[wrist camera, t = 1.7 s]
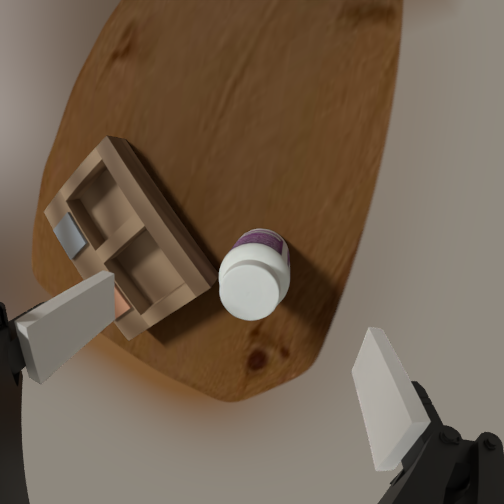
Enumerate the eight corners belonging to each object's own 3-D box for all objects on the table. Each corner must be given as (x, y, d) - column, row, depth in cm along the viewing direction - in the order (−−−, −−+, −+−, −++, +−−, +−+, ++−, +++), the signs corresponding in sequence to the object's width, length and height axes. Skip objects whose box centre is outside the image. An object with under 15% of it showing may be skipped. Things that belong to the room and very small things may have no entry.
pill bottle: (223, 249, 28) (191, 283, 19) (266, 216, 27) (254, 236, 18) (257, 292, 29) (242, 342, 20) (301, 261, 28) (306, 302, 18)
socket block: (125, 138, 27) (104, 135, 23) (219, 275, 29) (209, 289, 25) (63, 207, 30) (41, 212, 26) (142, 326, 32) (126, 342, 28)
